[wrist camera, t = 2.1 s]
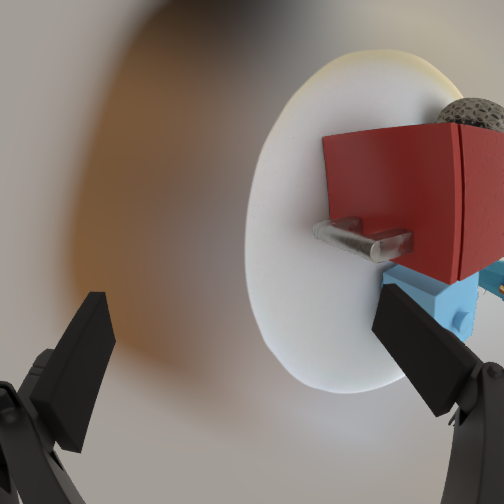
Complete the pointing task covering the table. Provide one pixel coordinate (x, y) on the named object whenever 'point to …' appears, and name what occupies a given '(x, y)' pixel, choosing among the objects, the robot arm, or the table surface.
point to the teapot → (440, 298)
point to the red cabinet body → (481, 199)
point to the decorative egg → (474, 114)
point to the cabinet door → (396, 197)
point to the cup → (493, 278)
